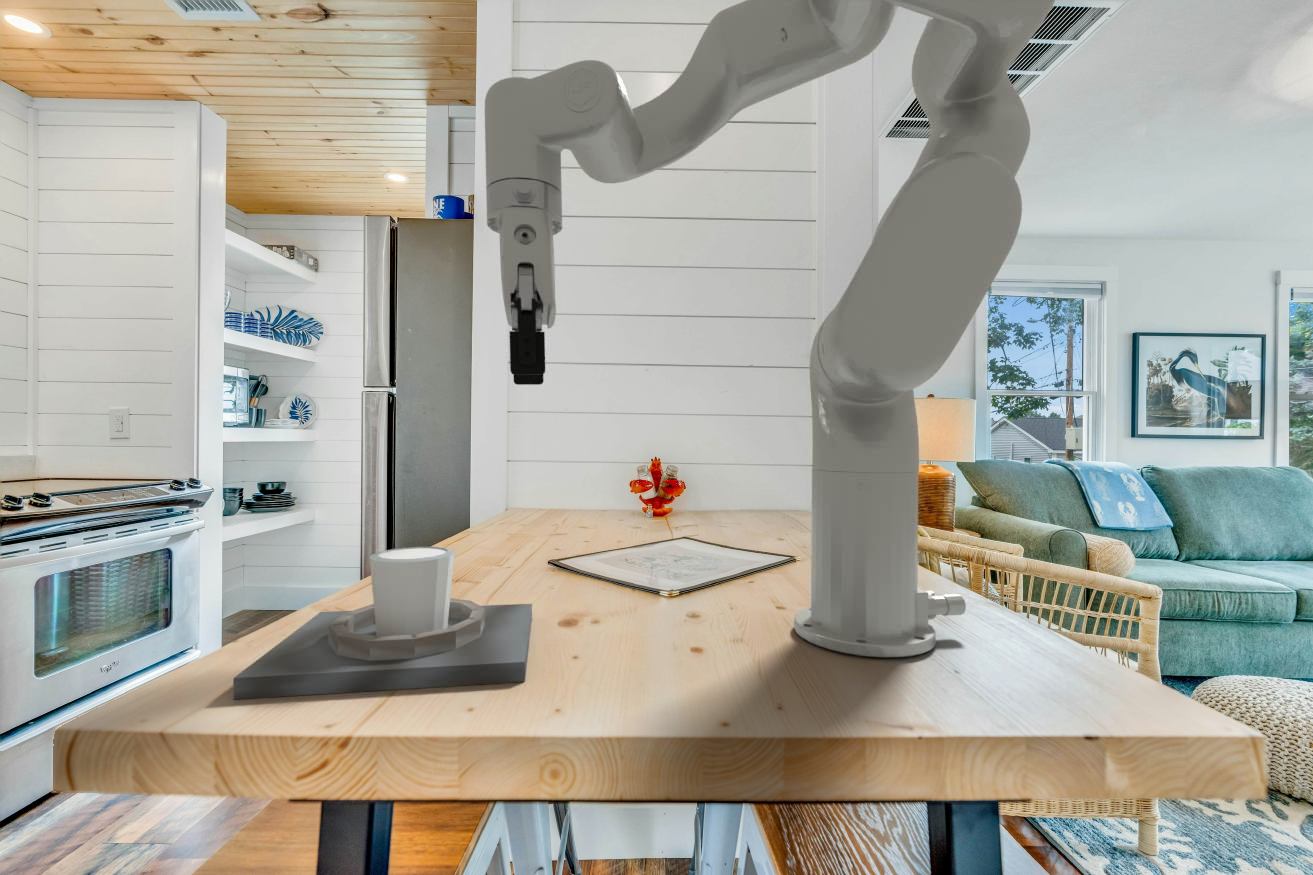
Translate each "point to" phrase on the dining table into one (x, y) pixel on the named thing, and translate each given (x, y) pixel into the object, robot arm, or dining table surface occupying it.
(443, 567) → the white cup
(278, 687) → the ring board
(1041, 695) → the dining table surface
